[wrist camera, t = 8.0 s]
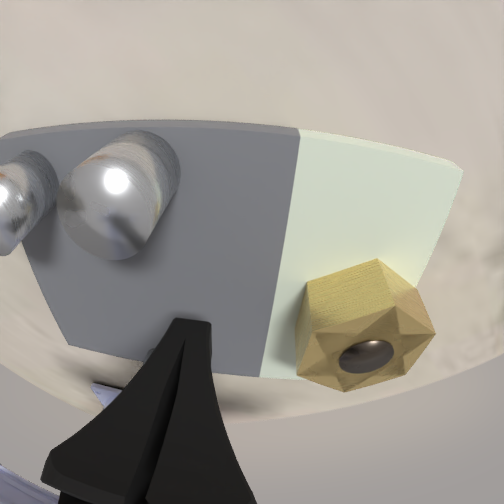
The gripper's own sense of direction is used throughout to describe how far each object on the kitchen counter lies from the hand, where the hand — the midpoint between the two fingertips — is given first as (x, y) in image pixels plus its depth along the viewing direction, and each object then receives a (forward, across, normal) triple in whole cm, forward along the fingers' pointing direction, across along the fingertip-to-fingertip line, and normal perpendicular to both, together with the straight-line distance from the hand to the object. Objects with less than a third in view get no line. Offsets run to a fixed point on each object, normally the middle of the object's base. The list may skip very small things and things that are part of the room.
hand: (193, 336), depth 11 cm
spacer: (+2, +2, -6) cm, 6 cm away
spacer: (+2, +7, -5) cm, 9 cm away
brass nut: (+2, -7, 0) cm, 7 cm away
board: (+3, 0, -1) cm, 3 cm away
